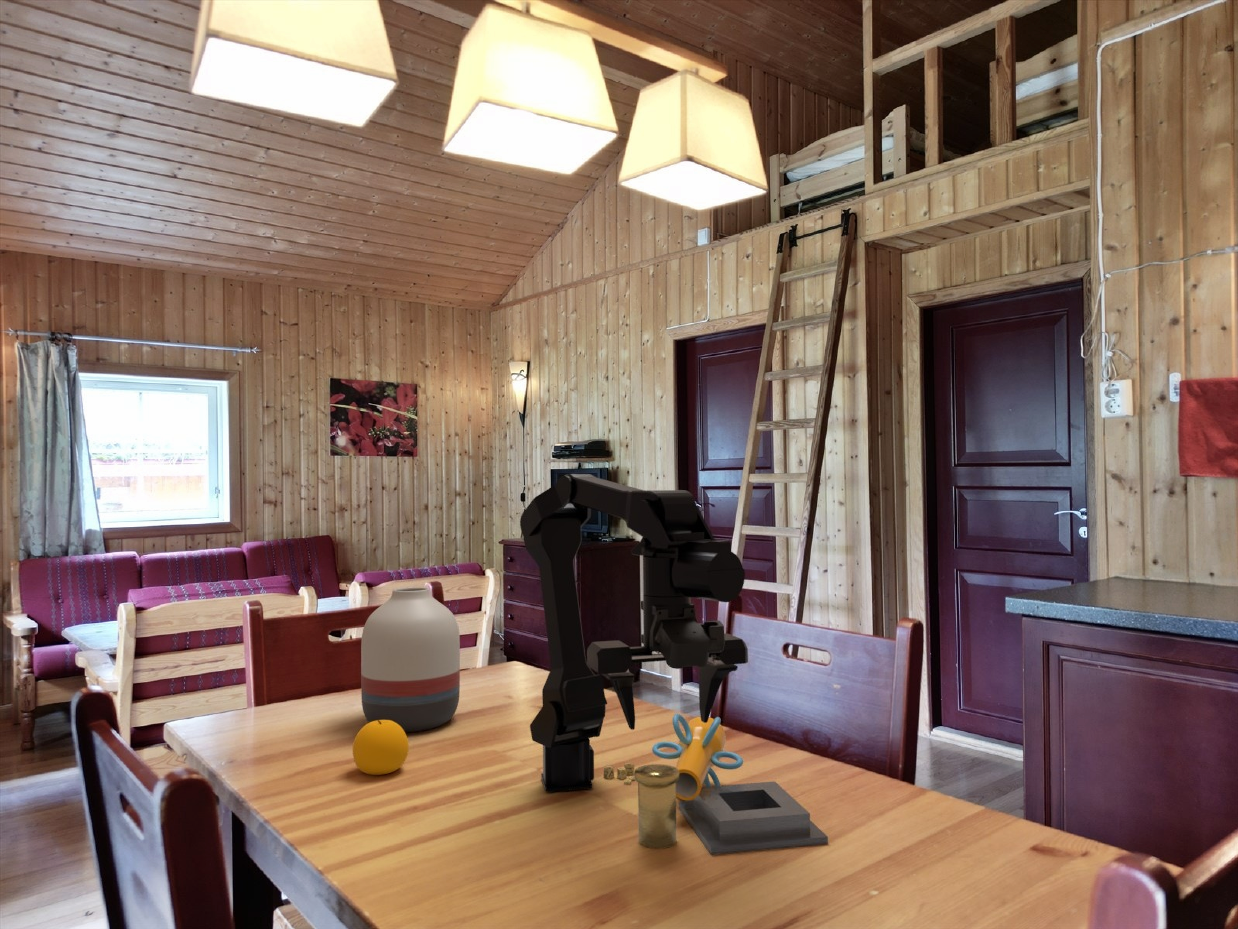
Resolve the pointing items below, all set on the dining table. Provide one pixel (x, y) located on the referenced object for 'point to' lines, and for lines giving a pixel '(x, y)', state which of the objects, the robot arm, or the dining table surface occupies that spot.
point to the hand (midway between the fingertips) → (668, 725)
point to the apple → (380, 747)
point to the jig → (750, 818)
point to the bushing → (657, 805)
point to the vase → (410, 661)
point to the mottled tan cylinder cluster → (620, 772)
